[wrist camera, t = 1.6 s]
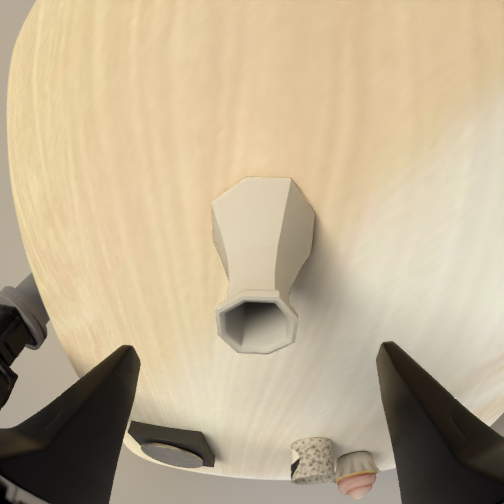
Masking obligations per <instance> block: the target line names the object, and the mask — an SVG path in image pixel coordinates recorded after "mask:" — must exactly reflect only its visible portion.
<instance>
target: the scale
mask: <svg viewBox="0 0 504 504" xmlns="http://www.w3.org/2000/svg"><path fill="white" fill-rule="evenodd" d="M128 433H129V434H130V435H131V436H132V437H133V438H134V439H135V440H136V441H137V442H138V443H139V444H140V445H141V446H142V444H144V443H159V444H165V445H169V446H173V447H177V448H180V449H183V450H186V451H188V452H191V453H193V454H195V455H197V456H198V457H200V458H201V459H202V460H203V465H202V466H206V467H214V462H215V455H214V454H213V452H212V451H211V449H210V447H209V445H208V444H207V442H206V440H205V439H204V437H203V435H202V433H201V432H197V431H188V430H180V429H173V428H167V427H160V426H155V425H149V424H144V423H139V422H134V421H131V424H130V427H129V430H128Z"/></svg>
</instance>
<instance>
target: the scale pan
mask: <svg viewBox="0 0 504 504" xmlns="http://www.w3.org/2000/svg"><path fill="white" fill-rule="evenodd" d="M141 450H142V451H143V452H144V453H145V454H146V455H148V456H149V457H151V458H153V459H155V460H158V461H160V462H163V463H166V464H169V465H173V466H177V467H184V468H198V467H201V466H202V465H203V460H202V459H201V458H200V457H198V456H197V455H195V454H193V453H191V452H188V451H186V450H183V449H180V448H177V447H173V446H169V445H165V444H159V443H144V444H142V446H141Z"/></svg>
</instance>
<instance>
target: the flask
mask: <svg viewBox="0 0 504 504" xmlns="http://www.w3.org/2000/svg"><path fill="white" fill-rule="evenodd" d="M211 204H212V223H213V240H214V244H215V246H216V249H217V251H218V253H219V255H220V258H221V260H222V263H223V266H224V268H225V271H226V274H227V277H228V280H229V288H228V294H227V298H226V300H224V301H222V302H221V303H219V304H218V305H217V307H216V320H217V330H218V336H220V337H221V338H222V339H223V340H224V341H225V342H226V343H227V344H228V345H230V346H231V347H232V348H233V349H234V350H235V351H236V352H237V353H248V354H270V353H273V352H275V351H277V350H279V349H282V348H284V347H286V346H288V345H290V344H293V343H295V337H296V330H297V323H298V314H297V312H296V311H295V309H294V308H293V307H292V306H291V305H290V303H289V294H290V289H291V286H292V284H293V282H294V281H295V279H296V277H297V275H298V273H299V271H300V269H301V267H302V266H303V264H304V263H305V261H306V260H307V258H308V256H309V255H310V253H311V249H312V240H313V230H314V220H315V212H314V211H313V209H312V208H311V206H310V205H309V203H308V202H307V200H306V199H305V197H304V196H303V194H302V193H301V191H300V190H299V188H298V187H297V186H296V184H295V183H294V181H293V180H292V179H291V178H275V177H245V178H244V179H242V180H241V181H239V182H238V183H237V184H235V185H234V186H232V187H231V188H230V189H228V190H227V191H226V192H224V193H223V194H222V195H220V196H219V197H217V198H216V199H215V200H213V201H212V202H211Z"/></svg>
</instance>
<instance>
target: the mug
mask: <svg viewBox="0 0 504 504" xmlns="http://www.w3.org/2000/svg"><path fill="white" fill-rule="evenodd" d="M334 478H335V471H334V460H333V450H332V442H331V440H330V439H327V438H308V439H303V440H299V441H297V442H295V443H293V444H292V445H291V483H293V484H296V485H313V484H319V483H324V482H328V481H331V480H333V479H334Z"/></svg>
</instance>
